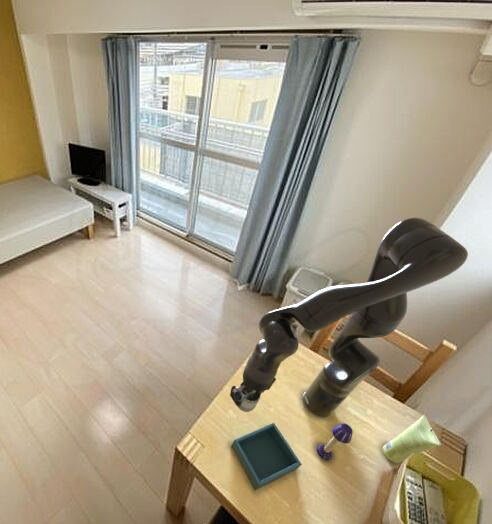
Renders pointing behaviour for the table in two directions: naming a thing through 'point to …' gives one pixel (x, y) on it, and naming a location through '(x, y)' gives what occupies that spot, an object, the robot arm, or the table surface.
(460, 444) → the table surface
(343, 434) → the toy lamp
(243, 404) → the camera lens
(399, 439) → the tube
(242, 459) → the crate
